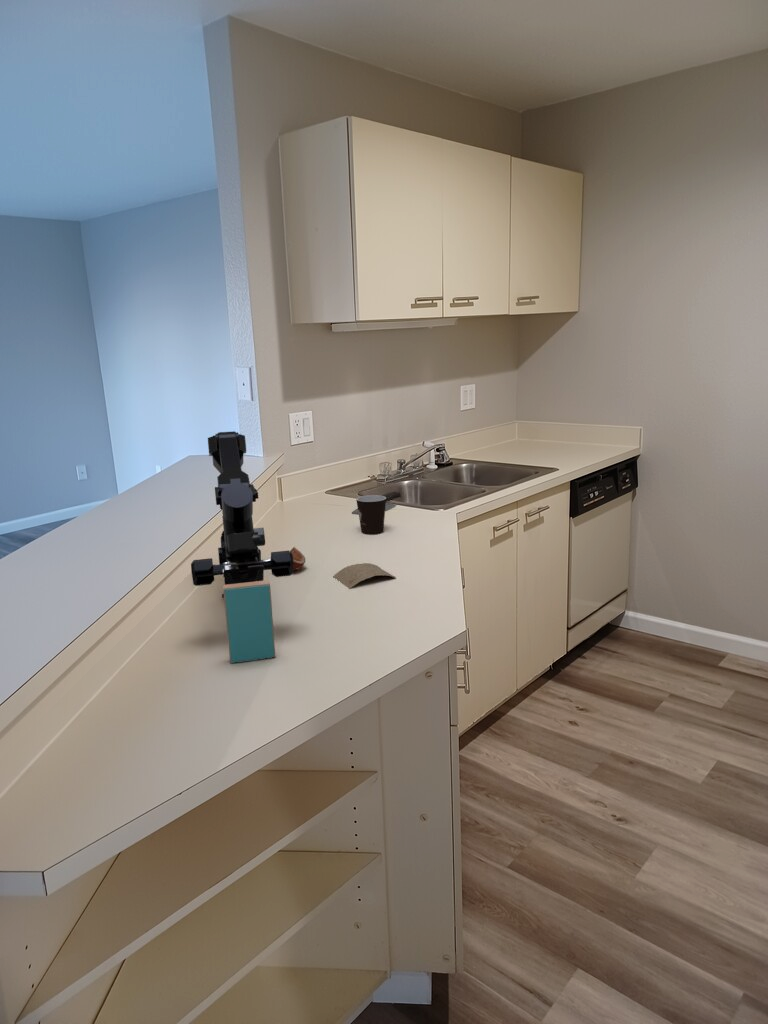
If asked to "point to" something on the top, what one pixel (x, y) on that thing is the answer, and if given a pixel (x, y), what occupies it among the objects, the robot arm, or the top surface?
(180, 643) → the top surface
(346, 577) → the clay tablet
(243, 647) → the tile
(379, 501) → the coffee mug
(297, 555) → the fruit slice
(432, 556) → the top surface
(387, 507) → the cleaver
